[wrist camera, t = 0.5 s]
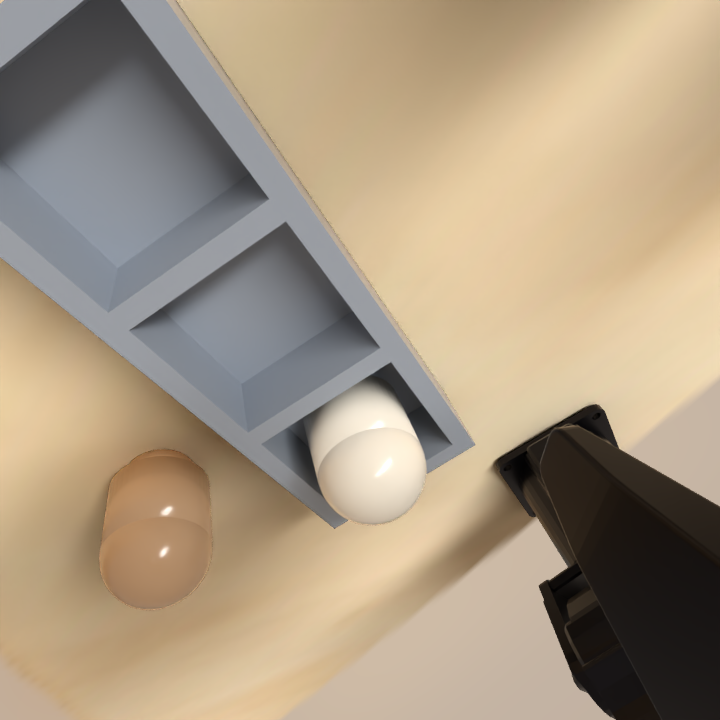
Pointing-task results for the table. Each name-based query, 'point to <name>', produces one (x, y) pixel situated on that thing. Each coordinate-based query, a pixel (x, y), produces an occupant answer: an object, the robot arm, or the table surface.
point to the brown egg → (156, 530)
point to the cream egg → (366, 453)
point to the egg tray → (189, 234)
